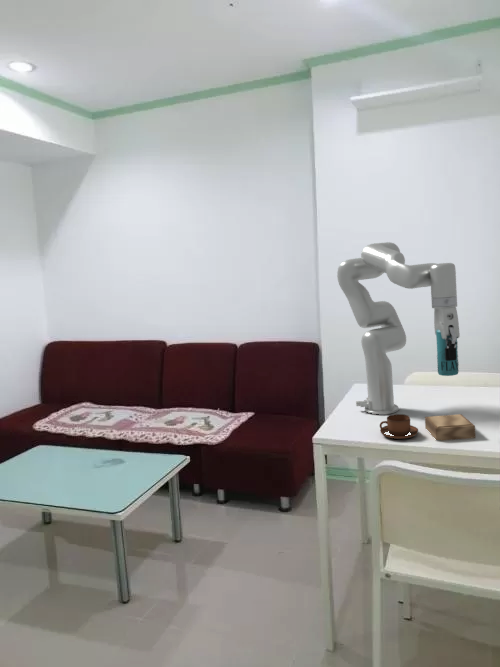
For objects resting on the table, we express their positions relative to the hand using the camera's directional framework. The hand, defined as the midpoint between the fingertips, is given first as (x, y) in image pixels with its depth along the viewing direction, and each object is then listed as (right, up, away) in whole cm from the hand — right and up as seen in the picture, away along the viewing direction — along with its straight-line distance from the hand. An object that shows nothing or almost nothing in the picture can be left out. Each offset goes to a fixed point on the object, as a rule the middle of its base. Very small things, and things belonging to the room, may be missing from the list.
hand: (447, 357), depth 164 cm
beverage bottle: (+1, -7, +1) cm, 7 cm away
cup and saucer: (-14, -26, +5) cm, 30 cm away
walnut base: (+2, -25, +2) cm, 25 cm away
